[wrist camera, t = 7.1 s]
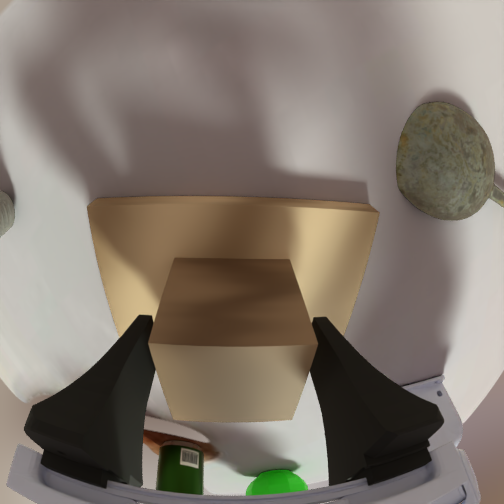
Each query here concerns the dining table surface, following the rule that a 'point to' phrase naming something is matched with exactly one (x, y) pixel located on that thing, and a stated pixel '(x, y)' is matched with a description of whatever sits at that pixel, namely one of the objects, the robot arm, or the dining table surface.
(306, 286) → the oak board
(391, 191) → the dining table surface
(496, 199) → the soupspoon
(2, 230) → the lightbulb
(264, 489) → the plastic bottle
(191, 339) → the tan cube
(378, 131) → the dining table surface
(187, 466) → the beer can
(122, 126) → the dining table surface
